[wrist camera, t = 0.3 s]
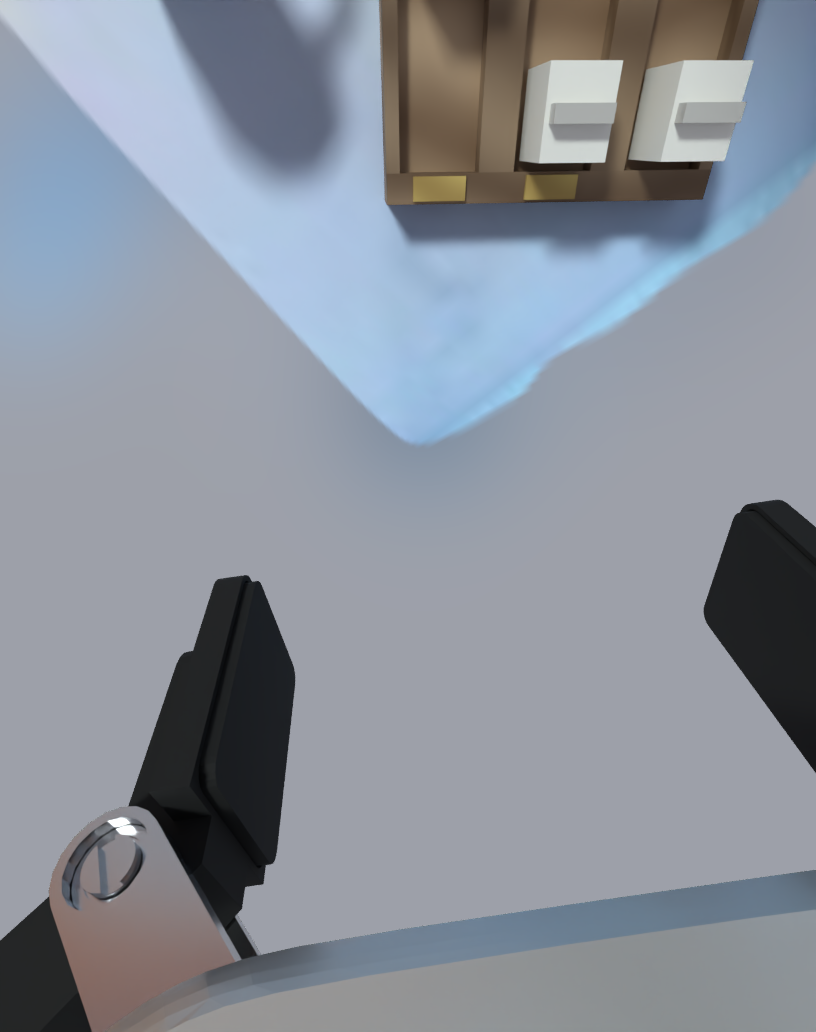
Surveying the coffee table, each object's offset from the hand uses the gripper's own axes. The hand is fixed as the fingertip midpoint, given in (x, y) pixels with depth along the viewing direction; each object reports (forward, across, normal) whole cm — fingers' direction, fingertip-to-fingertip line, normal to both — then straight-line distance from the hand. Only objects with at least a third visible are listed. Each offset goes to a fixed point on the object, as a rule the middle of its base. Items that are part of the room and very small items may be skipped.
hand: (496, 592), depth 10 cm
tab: (+28, -16, -7) cm, 33 cm away
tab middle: (+28, -10, -7) cm, 31 cm away
